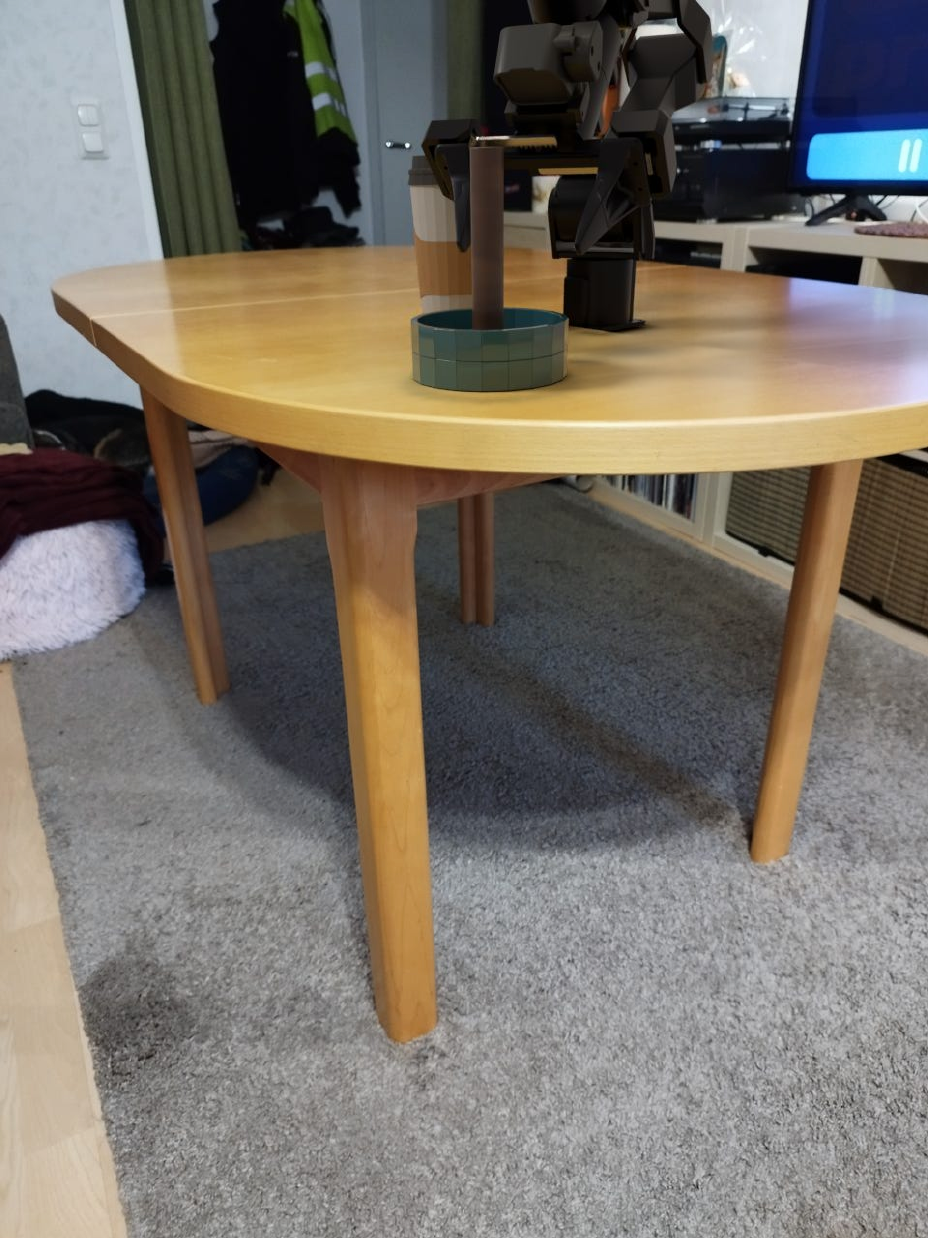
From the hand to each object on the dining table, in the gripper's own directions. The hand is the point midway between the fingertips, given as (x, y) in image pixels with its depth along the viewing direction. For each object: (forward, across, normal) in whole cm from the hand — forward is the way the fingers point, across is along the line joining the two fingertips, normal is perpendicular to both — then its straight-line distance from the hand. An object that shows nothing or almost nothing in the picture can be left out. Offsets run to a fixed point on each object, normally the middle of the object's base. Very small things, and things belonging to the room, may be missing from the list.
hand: (517, 249), depth 65 cm
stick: (+10, 0, +2) cm, 10 cm away
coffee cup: (-4, -12, +16) cm, 21 cm away
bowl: (+10, 0, +2) cm, 10 cm away
